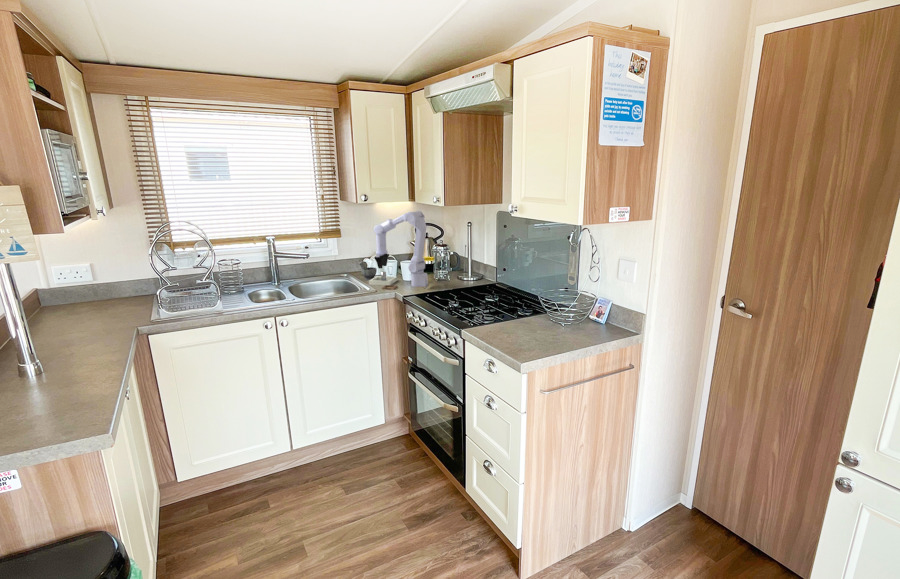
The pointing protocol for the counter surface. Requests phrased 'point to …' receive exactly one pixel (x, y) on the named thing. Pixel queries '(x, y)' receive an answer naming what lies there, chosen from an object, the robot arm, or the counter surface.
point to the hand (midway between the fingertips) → (382, 267)
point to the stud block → (390, 287)
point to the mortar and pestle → (368, 271)
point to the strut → (383, 276)
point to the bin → (375, 281)
